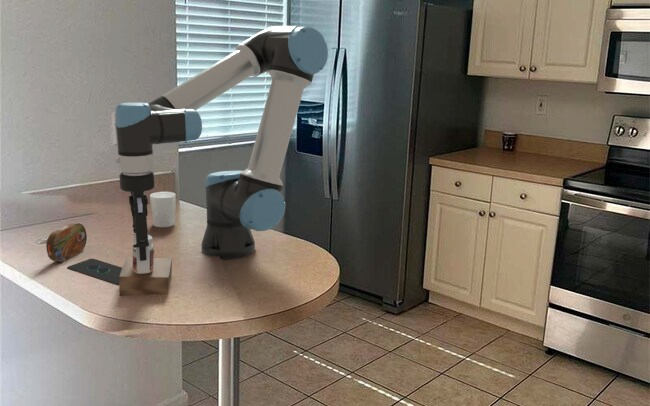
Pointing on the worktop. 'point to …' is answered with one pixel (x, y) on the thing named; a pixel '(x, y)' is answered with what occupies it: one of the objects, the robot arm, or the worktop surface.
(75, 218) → the worktop surface
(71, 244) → the tin
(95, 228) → the worktop surface
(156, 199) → the white cup
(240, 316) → the worktop surface
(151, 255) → the pill bottle
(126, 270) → the wooden block
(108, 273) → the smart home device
